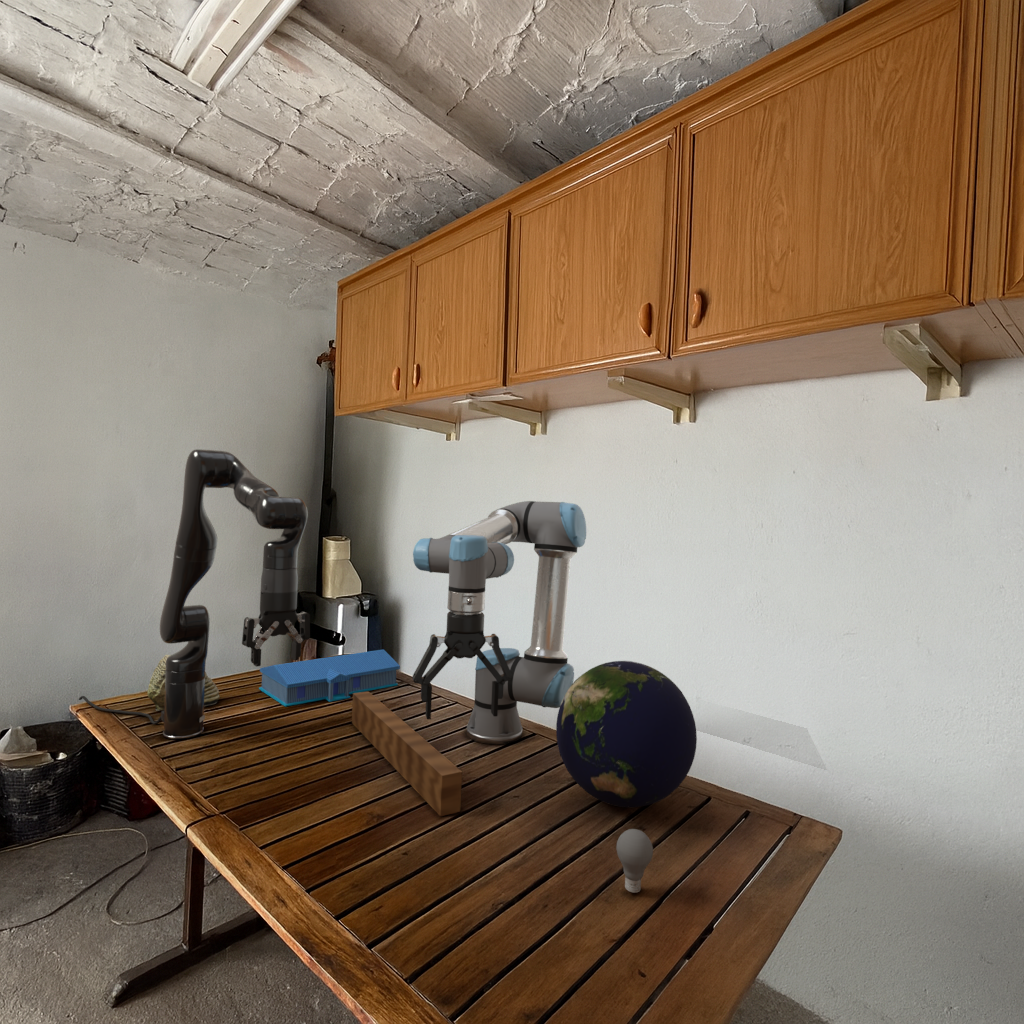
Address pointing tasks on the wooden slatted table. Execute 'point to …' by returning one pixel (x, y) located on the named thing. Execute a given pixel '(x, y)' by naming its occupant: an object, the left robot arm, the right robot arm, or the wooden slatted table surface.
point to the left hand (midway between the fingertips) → (276, 662)
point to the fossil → (158, 687)
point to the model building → (329, 677)
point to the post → (409, 754)
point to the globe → (626, 734)
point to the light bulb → (634, 857)
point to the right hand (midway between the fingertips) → (461, 715)
